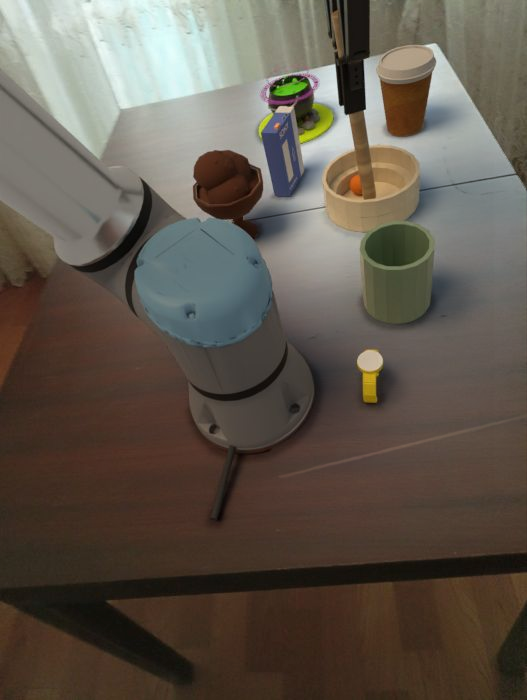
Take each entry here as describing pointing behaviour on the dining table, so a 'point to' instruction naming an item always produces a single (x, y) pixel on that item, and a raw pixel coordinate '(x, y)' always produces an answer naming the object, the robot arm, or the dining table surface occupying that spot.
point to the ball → (356, 185)
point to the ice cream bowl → (227, 187)
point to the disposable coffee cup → (405, 87)
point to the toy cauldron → (298, 104)
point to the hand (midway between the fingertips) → (352, 106)
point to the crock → (397, 271)
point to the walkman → (283, 151)
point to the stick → (358, 135)
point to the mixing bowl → (390, 184)
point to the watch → (370, 373)
